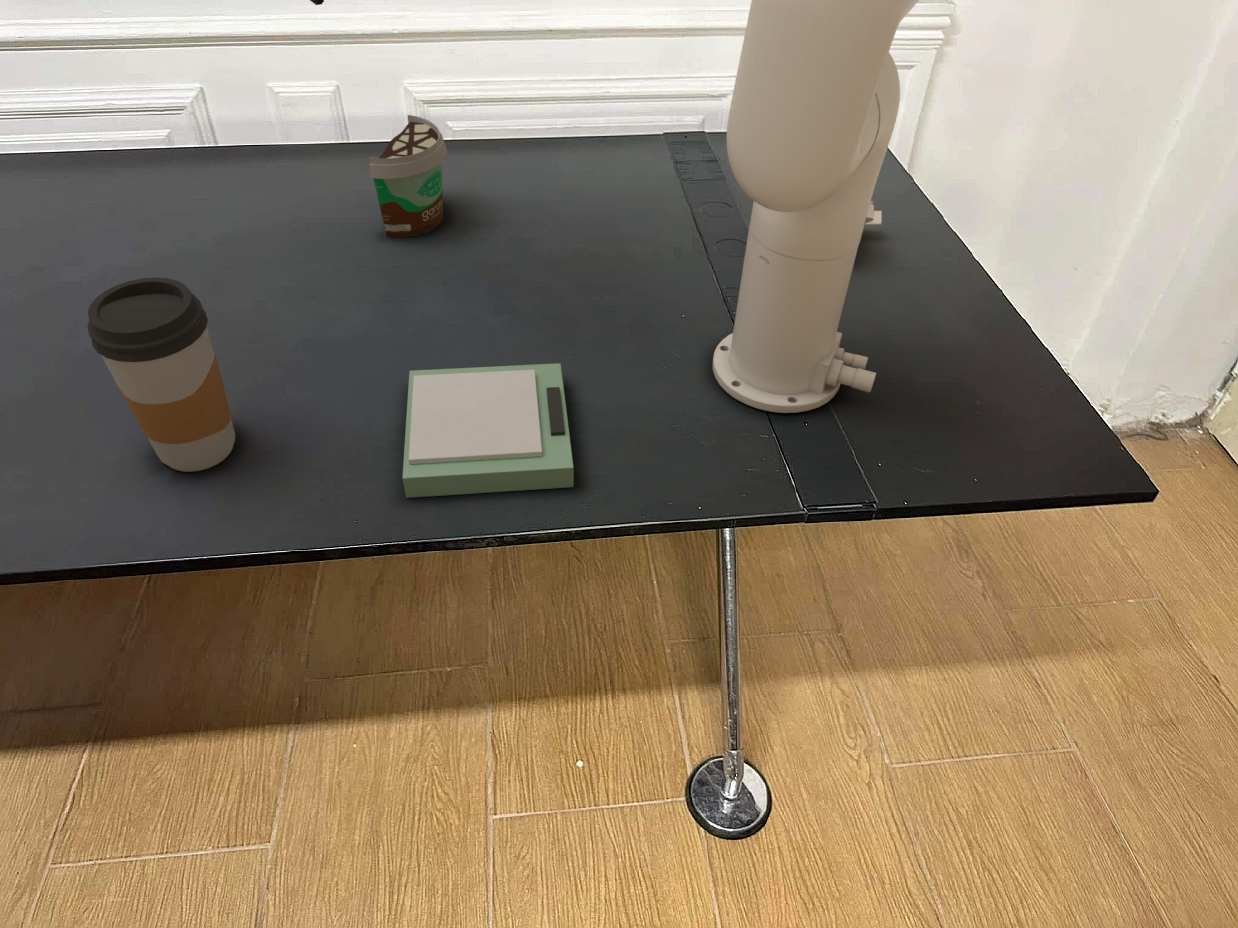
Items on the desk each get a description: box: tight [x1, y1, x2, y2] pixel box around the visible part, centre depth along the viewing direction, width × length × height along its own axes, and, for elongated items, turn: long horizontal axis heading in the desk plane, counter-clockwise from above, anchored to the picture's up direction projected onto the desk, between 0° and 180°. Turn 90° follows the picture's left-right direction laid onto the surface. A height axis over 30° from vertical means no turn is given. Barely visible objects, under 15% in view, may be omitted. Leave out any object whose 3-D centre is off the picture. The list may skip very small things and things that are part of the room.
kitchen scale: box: [401, 362, 575, 499], centre depth 80 cm, size 14×14×3 cm
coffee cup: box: [86, 276, 236, 473], centre depth 73 cm, size 8×8×15 cm
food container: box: [368, 114, 448, 238], centre depth 104 cm, size 12×6×10 cm, turn 168°
